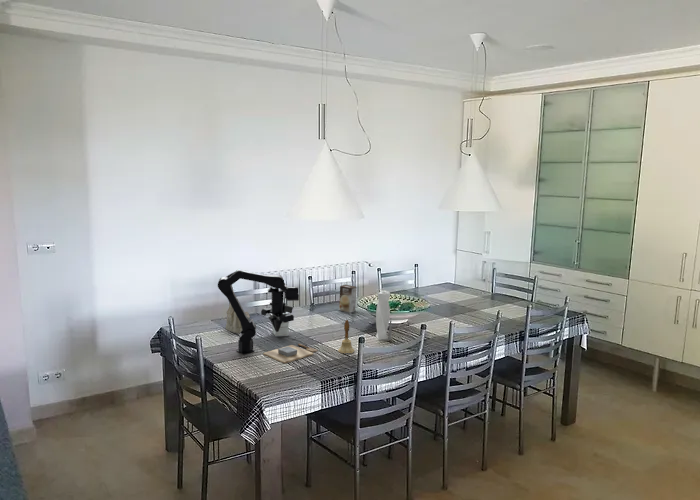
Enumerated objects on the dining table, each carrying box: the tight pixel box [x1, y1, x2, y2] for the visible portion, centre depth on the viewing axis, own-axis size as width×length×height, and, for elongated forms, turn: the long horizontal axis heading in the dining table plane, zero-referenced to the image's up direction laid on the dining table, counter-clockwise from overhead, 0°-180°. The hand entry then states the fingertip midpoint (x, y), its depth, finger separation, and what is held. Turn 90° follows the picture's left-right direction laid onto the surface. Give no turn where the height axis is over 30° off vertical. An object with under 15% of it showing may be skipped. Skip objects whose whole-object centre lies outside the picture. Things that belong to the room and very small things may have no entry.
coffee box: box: [338, 284, 357, 314], centre depth 341 cm, size 9×6×16 cm
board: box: [263, 344, 314, 364], centre depth 259 cm, size 18×16×1 cm
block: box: [277, 345, 297, 357], centre depth 258 cm, size 6×2×7 cm
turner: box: [297, 343, 318, 353], centre depth 269 cm, size 3×12×1 cm, turn 47°
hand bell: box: [337, 319, 355, 355], centre depth 266 cm, size 8×8×16 cm
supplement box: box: [271, 312, 290, 337], centre depth 289 cm, size 7×7×13 cm
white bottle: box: [375, 288, 393, 342], centre depth 287 cm, size 8×8×28 cm
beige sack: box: [225, 302, 251, 334], centre depth 297 cm, size 16×16×15 cm
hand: (277, 331), depth 262 cm, fingers closed
